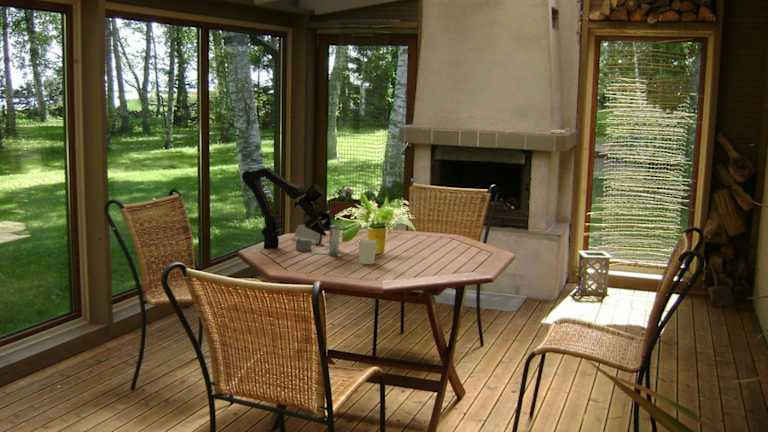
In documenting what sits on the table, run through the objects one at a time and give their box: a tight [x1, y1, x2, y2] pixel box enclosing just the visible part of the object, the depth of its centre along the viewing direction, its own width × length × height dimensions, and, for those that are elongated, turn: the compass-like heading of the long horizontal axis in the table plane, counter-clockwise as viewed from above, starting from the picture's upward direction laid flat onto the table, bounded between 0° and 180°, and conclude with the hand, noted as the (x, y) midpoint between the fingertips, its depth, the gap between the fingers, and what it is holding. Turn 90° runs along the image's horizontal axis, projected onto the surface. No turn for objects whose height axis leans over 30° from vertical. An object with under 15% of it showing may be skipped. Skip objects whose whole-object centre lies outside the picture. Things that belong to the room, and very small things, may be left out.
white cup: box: [358, 238, 377, 265], centre depth 370 cm, size 8×8×10 cm
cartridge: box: [328, 224, 341, 258], centre depth 382 cm, size 5×5×14 cm
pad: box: [310, 249, 329, 255], centre depth 388 cm, size 8×8×1 cm
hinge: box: [290, 224, 324, 247], centre depth 411 cm, size 17×5×10 cm, turn 52°
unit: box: [295, 238, 312, 252], centre depth 393 cm, size 7×4×6 cm, turn 97°
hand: (329, 234), depth 382 cm, fingers open, 9 cm apart
